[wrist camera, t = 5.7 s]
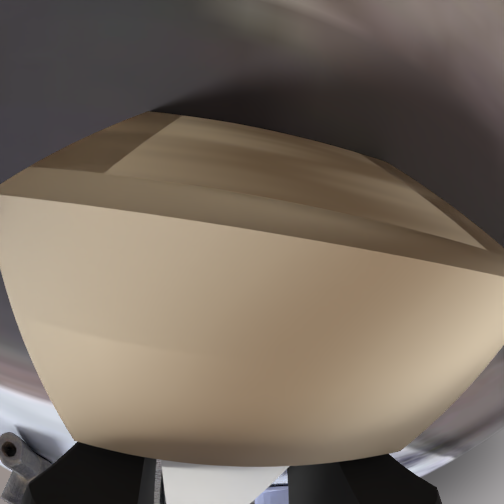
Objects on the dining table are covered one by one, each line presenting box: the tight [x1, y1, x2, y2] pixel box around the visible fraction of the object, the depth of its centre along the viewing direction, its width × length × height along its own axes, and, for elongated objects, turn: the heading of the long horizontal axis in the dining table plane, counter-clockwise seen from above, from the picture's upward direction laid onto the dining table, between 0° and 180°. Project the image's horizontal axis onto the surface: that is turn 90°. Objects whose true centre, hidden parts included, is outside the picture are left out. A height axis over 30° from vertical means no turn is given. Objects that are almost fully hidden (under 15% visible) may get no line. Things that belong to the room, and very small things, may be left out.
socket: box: [0, 111, 504, 467], centre depth 7 cm, size 7×5×6 cm
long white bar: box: [161, 460, 289, 504], centre depth 11 cm, size 4×17×5 cm, turn 168°
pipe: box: [0, 432, 52, 504], centre depth 18 cm, size 6×13×8 cm, turn 163°
